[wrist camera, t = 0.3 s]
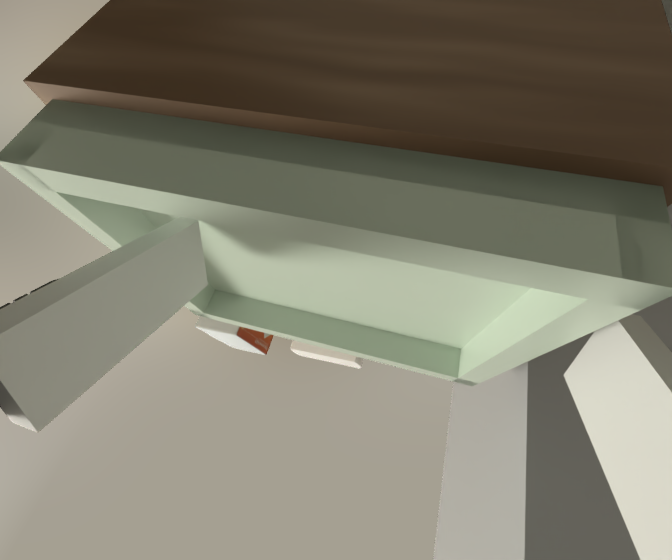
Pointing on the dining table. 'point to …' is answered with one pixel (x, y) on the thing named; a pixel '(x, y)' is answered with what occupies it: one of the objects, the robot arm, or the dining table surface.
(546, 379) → the grey tall block
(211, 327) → the small box
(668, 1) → the dining table surface
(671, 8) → the dining table surface
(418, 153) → the tray
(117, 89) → the riser
